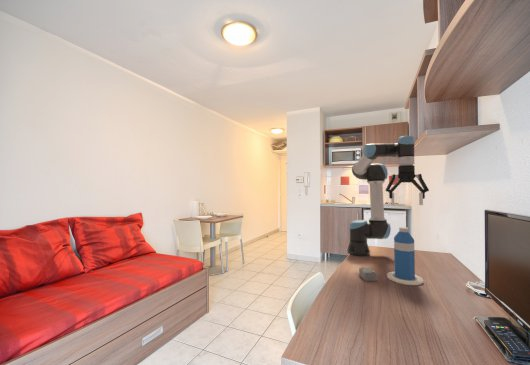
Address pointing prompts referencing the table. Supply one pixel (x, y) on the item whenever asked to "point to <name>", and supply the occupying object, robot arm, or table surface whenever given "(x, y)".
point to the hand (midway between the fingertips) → (406, 204)
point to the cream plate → (416, 281)
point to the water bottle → (404, 255)
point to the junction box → (368, 274)
